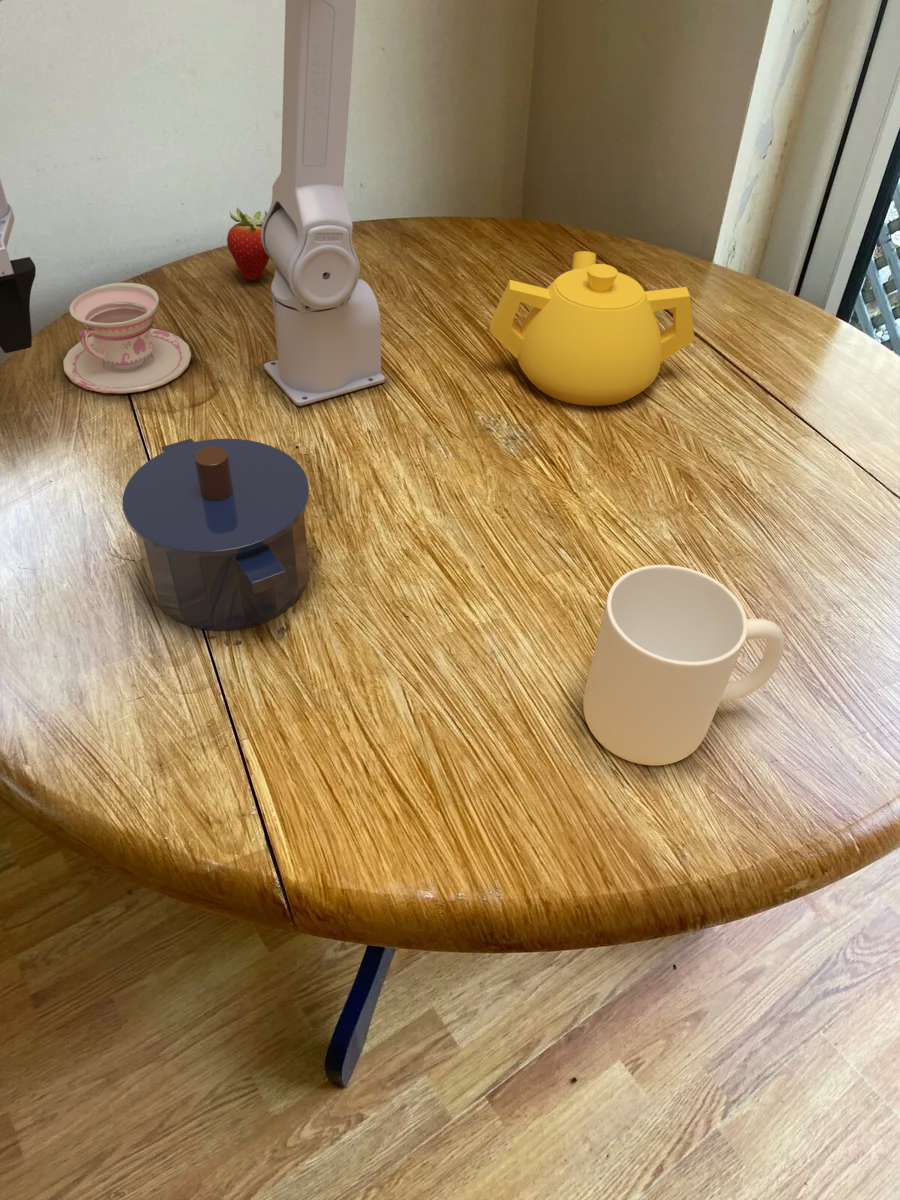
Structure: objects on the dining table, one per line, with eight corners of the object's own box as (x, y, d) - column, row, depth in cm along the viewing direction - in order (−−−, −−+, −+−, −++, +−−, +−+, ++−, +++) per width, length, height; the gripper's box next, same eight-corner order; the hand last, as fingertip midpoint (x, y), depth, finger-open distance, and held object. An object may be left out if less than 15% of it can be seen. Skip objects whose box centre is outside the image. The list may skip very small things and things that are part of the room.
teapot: (660, 322, 100) (683, 222, 92) (697, 416, 87) (728, 308, 79) (479, 317, 99) (487, 215, 91) (490, 411, 86) (500, 302, 78)
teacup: (120, 321, 94) (107, 264, 90) (216, 351, 91) (207, 293, 87) (36, 374, 87) (18, 314, 82) (138, 409, 83) (124, 348, 79)
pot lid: (265, 433, 70) (260, 386, 67) (340, 526, 62) (338, 478, 59) (101, 481, 65) (88, 433, 62) (162, 588, 57) (150, 539, 54)
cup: (569, 673, 63) (592, 566, 56) (734, 664, 64) (778, 559, 57) (596, 774, 57) (626, 668, 50) (777, 761, 58) (831, 657, 51)
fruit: (284, 272, 104) (278, 202, 98) (267, 293, 100) (260, 221, 95) (242, 266, 105) (234, 195, 99) (224, 286, 101) (214, 214, 95)
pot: (257, 490, 76) (247, 414, 70) (352, 618, 66) (348, 540, 60) (119, 534, 71) (97, 456, 66) (199, 679, 61) (180, 600, 56)
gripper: (-133, 125, 66) (-67, 299, 76) (-97, 195, 58) (-27, 382, 67) (-31, 112, 69) (21, 282, 79) (18, 177, 61) (69, 358, 70)
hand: (5, 327), depth 73 cm, fingers open, 7 cm apart
